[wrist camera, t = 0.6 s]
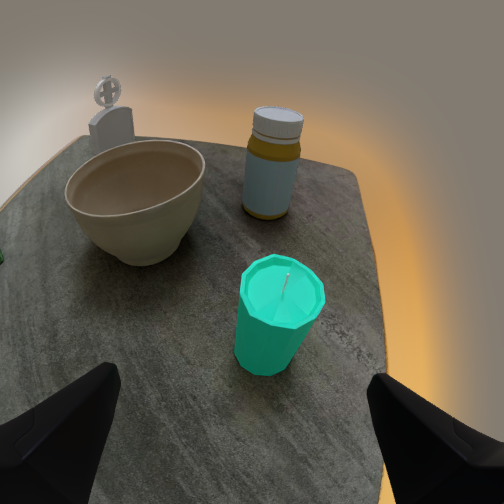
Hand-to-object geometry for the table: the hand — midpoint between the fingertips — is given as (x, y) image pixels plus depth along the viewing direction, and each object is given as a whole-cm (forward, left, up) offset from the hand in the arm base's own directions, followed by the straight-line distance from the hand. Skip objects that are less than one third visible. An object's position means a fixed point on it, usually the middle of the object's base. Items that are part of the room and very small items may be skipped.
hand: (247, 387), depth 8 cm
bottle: (+30, -8, -17) cm, 35 cm away
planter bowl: (+24, +9, -17) cm, 30 cm away
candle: (+8, -4, -17) cm, 19 cm away
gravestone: (+50, +20, -17) cm, 56 cm away
